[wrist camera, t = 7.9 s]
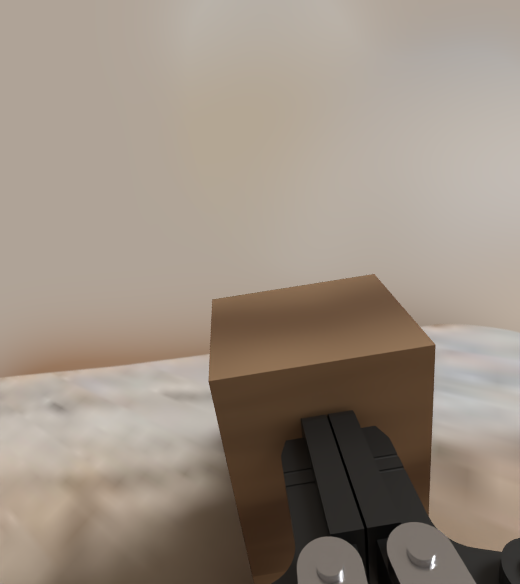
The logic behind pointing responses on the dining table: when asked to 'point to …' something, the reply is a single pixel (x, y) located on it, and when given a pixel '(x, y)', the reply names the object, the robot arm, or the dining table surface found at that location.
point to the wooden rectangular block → (313, 391)
